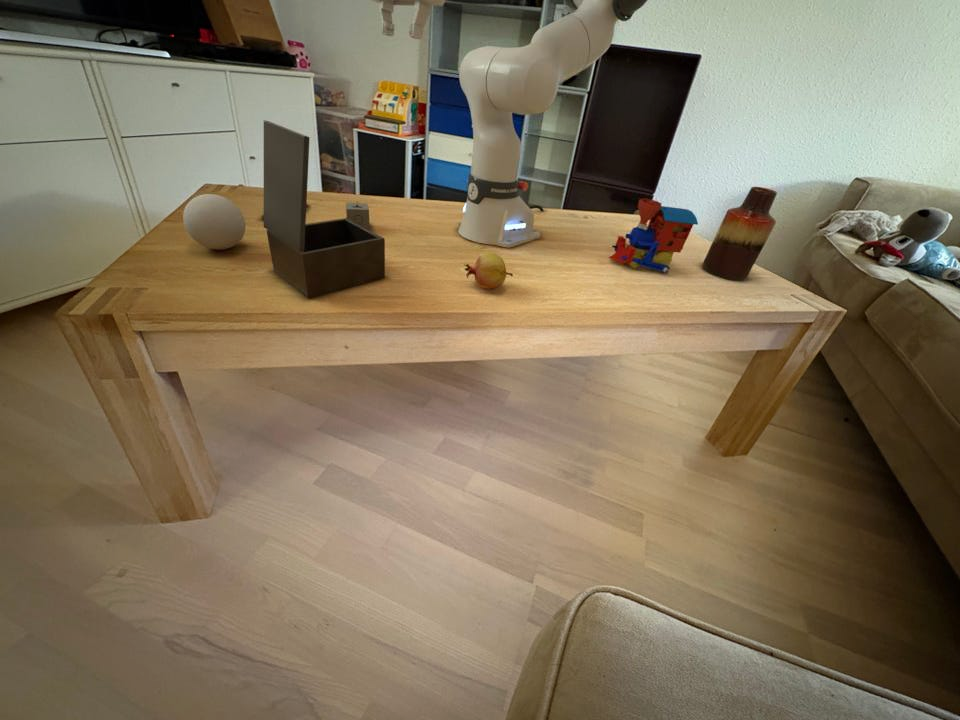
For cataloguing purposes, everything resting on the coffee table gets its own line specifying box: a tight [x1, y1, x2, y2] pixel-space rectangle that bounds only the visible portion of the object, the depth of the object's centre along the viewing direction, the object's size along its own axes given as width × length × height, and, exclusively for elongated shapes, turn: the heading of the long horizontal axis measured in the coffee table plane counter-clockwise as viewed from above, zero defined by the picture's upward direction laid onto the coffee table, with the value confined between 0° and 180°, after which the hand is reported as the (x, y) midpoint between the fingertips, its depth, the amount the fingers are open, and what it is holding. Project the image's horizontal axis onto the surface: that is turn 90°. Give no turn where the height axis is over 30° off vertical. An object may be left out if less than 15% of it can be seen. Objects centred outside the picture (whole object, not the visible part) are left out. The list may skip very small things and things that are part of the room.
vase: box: [701, 186, 778, 282], centre depth 101 cm, size 11×11×20 cm
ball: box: [182, 193, 246, 250], centre depth 79 cm, size 10×10×10 cm
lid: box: [263, 119, 311, 252], centre depth 64 cm, size 16×13×1 cm
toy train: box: [608, 198, 699, 274], centre depth 99 cm, size 10×16×15 cm, turn 93°
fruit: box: [463, 252, 514, 290], centre depth 80 cm, size 7×7×10 cm
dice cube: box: [345, 202, 371, 231], centre depth 99 cm, size 5×5×5 cm
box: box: [266, 217, 386, 299], centre depth 76 cm, size 16×13×8 cm
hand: (400, 36), depth 72 cm, fingers open, 8 cm apart
